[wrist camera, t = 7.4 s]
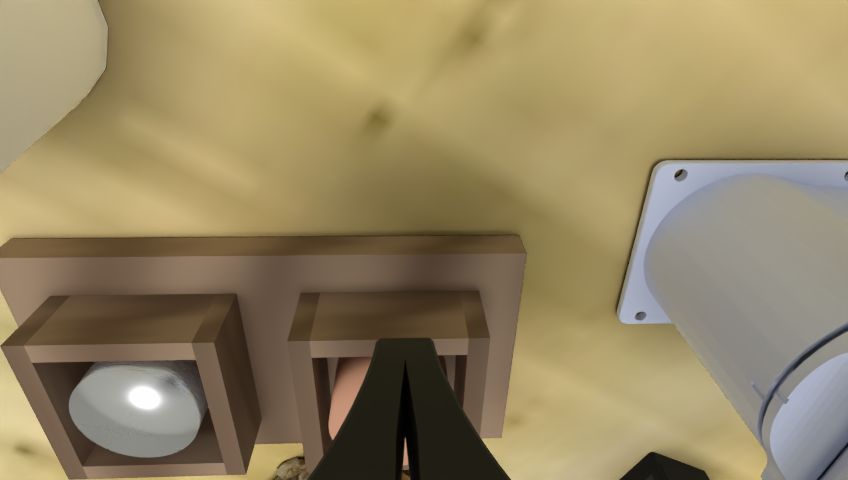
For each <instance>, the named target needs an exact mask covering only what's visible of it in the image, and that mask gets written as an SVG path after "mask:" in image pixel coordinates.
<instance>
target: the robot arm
mask: <svg viewBox="0 0 848 480" xmlns="http://www.w3.org/2000/svg"><path fill="white" fill-rule="evenodd" d="M681 169H683V172H682V174H681V175H680V176H678V177H675V178H674V175H675V173H676V172H677V171H678V170H681ZM847 172H848V160H666V161H662V162H660V163H658V164H657V165H656V166H655V167H654V170H653V172H652V175H651V179H650V183H649V187H648V191H647V195H646V199H645V203H644V207H643V211H642V215H641V218H640V222H639V226H638V230H637V234H636V238H635V242H634V246H633V250H632V254H631V258H630V262H629V265H628V269H627V273H626V277H625V281H624V285H623V289H622V293H621V297H620V301H619V305H618V309H617V316H618V318H619V320H620V321H621V322H622V323H624V324H662V323H673V324H674V326H675V327H676V329H677V330H678V331H679V333H680V334H681V335H682V337H683V338H684V340H685V341H686V342H687V344H688V345H689V346H690V348H691V349H692V351H693V352H694V353H695V355H696V356H697V358H698V359H699V360H700V362H701V363H702V364H703V366H704V367H705V369H706V370H707V371H708V373H709V374H710V375H711V377H712V378H713V380H714V381H715V382H716V384H717V385H718V386H719V388H720V389H721V391H722V392H723V393H724V395H725V396H726V397H727V399H728V400H729V402H730V403H731V404H732V406H733V407H734V408H735V410H736V411H737V413H738V414H739V415H740V417H741V418H742V420H743V421H744V422H745V424H746V425H747V426H748V428H749V429H750V431H751V432H752V433H753V435H754V436H755V437H756V439H757V440H758V442H759V443H760V444H761V446H762V447H763V448H764V450H765V451H766V454H767V464H766V467H765V469H764V471H763V472H762V474H761V478H762V479H763V480H848V175H846V176H845V174H846V173H847ZM844 176H845V177H844ZM638 312H642V313H641V314H639V315H636V314H637V313H638ZM405 438H406V447H407V456H408V465H409V474H410V480H511V479H510V478H509V477H508V475H507V474H506V473H505V471H504V470H503V469H502V468H501V466H500V465H499V464H498V462H497V461H496V459H495V458H494V457H493V455H492V454H491V453H490V451H489V450H488V448H487V447H486V445H485V444H484V442H483V441H482V439H481V438H480V436H479V435H478V433H477V432H476V430H475V428H474V427H473V425H472V424H471V422H470V420H469V419H468V417H467V415H466V414H465V412H464V410H463V408H462V407H461V405H460V403H459V401H458V399H457V397H456V395H455V393H454V391H453V389H452V387H451V385H450V383H449V381H448V379H447V377H446V375H445V372H444V370H443V368H442V366H441V363H440V360H439V358H438V355H437V352H436V349H435V345H434V341H433V340H432V339H430V338H380V339H379V340H378V341H376V343H375V349H374V352H373V356H372V359H371V362H370V365H369V368H368V370H367V373H366V376H365V378H364V381H363V383H362V385H361V387H360V389H359V392H358V394H357V396H356V398H355V400H354V403H353V405H352V407H351V409H350V410H349V412H348V414H347V416H346V418H345V420H344V422H343V423H342V425H341V427H340V429H339V431H338V433H337V434H336V436H335V438H334V439H333V441H332V443H331V444H330V446H329V448H328V449H327V451H326V452H325V454H324V456H323V457H322V459H321V460H320V462H319V463H318V465H317V466H316V468H315V469H314V471H313V472H312V473H311V475H310V476H309V478H308V479H307V480H402V472H403V460H404V447H405Z"/></svg>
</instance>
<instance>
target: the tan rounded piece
mask: <svg viewBox="0 0 848 480" xmlns="http://www.w3.org/2000/svg"><path fill="white" fill-rule="evenodd" d="M438 358H439V360H440V363H441V366H442V368H443V370H444V372H445V375H446V377H447V368H446V362H445V358H444V356H443V355H438ZM371 359H372V357H339V359H338V361H337V367H336V374H335V381H334V388H333V395H332V402H331V409H330V416H329V433H330V436H331V438H332V440H333V439H334V438H335V436H336V434H337V433H338V431H339V429H340V427H341V425H342V423H343V422H344V420H345V418H346V416H347V414H348V412H349V410H350V409H351V407H352V405H353V403H354V400H355V398H356V396H357V394H358V392H359V389H360V387H361V385H362V383H363V381H364V378H365V376H366V373H367V370H368V368H369V365H370V362H371ZM447 379H448V377H447ZM404 465H408V456H407V447H406V438H405V447H404V460H403V466H404Z"/></svg>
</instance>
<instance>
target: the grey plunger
mask: <svg viewBox="0 0 848 480" xmlns="http://www.w3.org/2000/svg"><path fill="white" fill-rule="evenodd" d="M207 408H208V403H207V399H206V396H205V392H204V388H203V385H202V381H201V377H200V373H199V370H198V366H197V362H196V360H154V361H98V362H94V363H93V364H92V366H91V367H90V368H89V370H88V371H87V373H86V374H85V375H84V377H83V378H82V379H81V381H80V382H79V384H78V385H77V386H76V388H75V389H74V390H73V392H72V394H71V396H70V400H69V412H70V415H71V418H72V420H73V422H74V423H75V425H76V426H77V428H78V429H79V430H80V431H81V432H82V433H83V434H84V435H85V436H86V437H88V438H89V439H90V440H92V441H93V442H95V443H96V444H98V445H100V446H102V447H104V448H106V449H108V450H111V451H113V452H116V453H120V454H123V455H128V456H134V457H148V458H151V457H161V456H166V455H170V454H173V453H176V452H178V451H180V450H182V449H184V448H185V447H187V446H188V445H189V444H190V443H191V442H192V441H193V440H194V438H195V437H196V434H197V432H198V430H199V427H200V425H201V422H202V420H203V417H204V415H205V413H206V410H207Z"/></svg>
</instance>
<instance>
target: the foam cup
mask: <svg viewBox="0 0 848 480" xmlns="http://www.w3.org/2000/svg"><path fill="white" fill-rule="evenodd" d="M107 40H108V25H107V23H106V20H105V18H104V15H103V13H102V10H101V8H100V5H99V2H98V0H0V173H1V172H3V171H4V170H5V169H6V168H7V167H8V166H9V165H11V164H12V163H13V162H14V161H15V160H16V159H17V158H18V157H20V156H21V155H22V154H23V153H24V152H25V151H26V150H28V149H29V148H30V147H31V146H32V145H33V144H34V143H35V142H37V141H38V140H39V139H40V138H41V137H42V136H43V135H45V134H46V133H47V132H48V131H49V130H50V129H51V128H53V127H54V126H55V125H56V124H57V123H58V122H59V121H60V120H62V119H63V118H64V117H65V116H66V115H67V114H68V113H70V112H71V111H72V110H73V109H74V108H75V107H76V106H77V105H79V103H80V102H81V100H82V99H83V98H85V97H87V95H88V94H89V92H90V91H91V89H92V88H93V86H94V85H95V84H96V82H97V81H98V79H99V78H100V76H101V75H102V73H103V72H104V70H105V69H106V60H107Z"/></svg>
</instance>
